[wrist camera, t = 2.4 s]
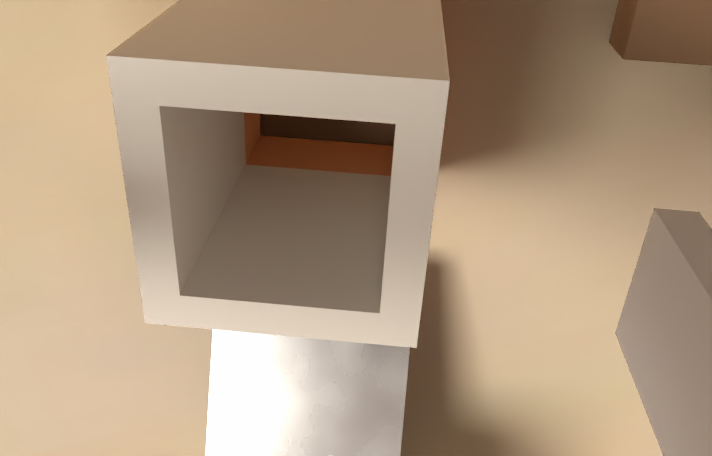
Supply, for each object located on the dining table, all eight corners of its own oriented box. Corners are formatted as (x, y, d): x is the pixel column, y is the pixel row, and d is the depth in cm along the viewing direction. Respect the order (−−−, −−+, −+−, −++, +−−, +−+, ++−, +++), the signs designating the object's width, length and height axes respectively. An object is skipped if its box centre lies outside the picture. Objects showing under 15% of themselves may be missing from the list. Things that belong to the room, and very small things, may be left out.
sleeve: (226, -35, 18) (105, 55, 11) (438, -21, 18) (450, 81, 11) (235, 157, 21) (145, 323, 14) (417, 172, 20) (416, 347, 14)
